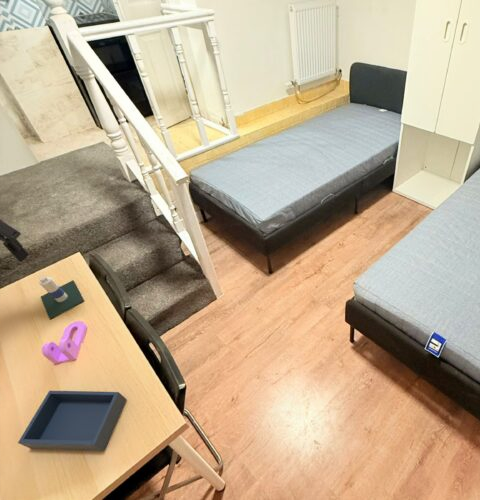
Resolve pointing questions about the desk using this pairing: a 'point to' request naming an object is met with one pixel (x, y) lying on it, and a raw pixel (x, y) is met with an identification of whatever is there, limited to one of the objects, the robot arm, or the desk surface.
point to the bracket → (66, 344)
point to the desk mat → (58, 308)
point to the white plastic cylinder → (53, 289)
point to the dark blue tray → (74, 421)
